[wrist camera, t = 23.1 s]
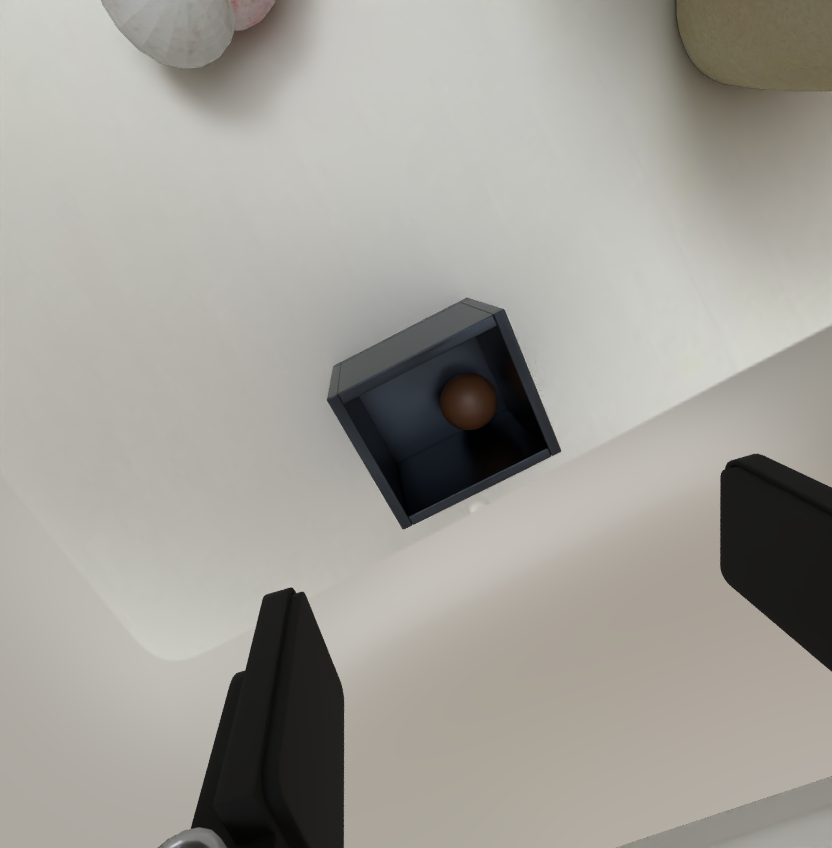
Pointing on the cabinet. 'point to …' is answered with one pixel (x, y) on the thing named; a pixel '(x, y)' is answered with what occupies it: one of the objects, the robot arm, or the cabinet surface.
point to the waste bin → (421, 413)
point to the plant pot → (760, 42)
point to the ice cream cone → (184, 26)
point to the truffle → (468, 401)
